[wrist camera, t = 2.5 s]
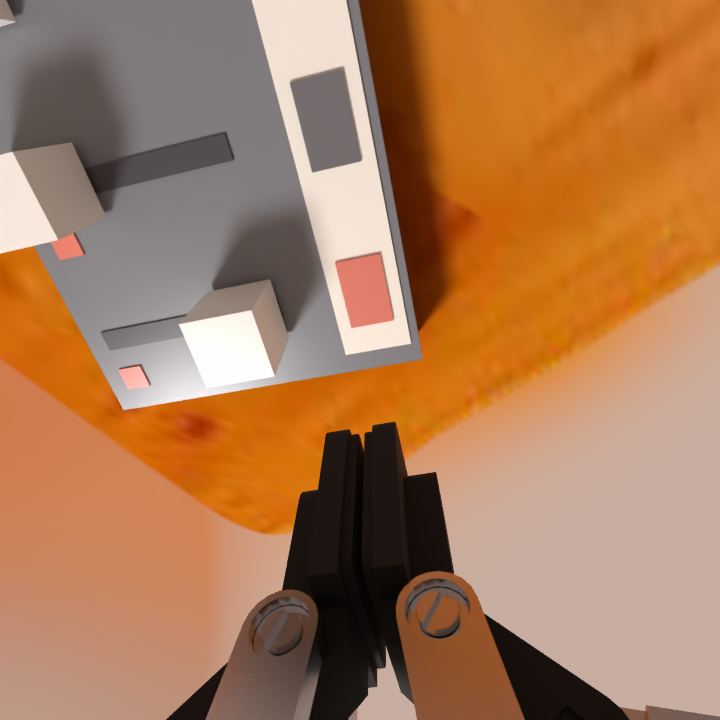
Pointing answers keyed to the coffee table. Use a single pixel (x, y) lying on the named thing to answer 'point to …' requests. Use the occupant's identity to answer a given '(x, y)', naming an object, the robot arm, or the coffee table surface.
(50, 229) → the middle switch
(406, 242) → the coffee table surface
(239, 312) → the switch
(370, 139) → the switch unit
